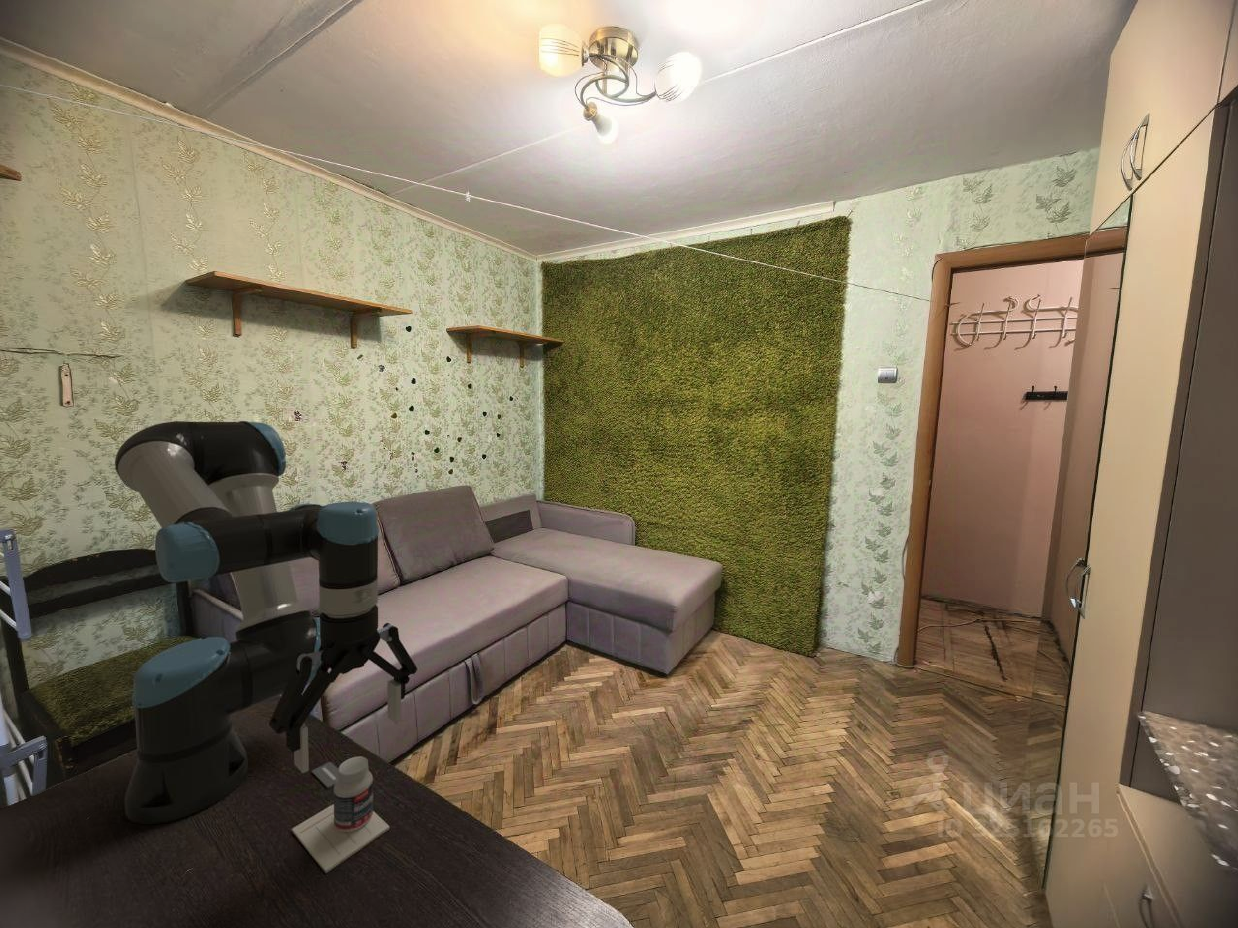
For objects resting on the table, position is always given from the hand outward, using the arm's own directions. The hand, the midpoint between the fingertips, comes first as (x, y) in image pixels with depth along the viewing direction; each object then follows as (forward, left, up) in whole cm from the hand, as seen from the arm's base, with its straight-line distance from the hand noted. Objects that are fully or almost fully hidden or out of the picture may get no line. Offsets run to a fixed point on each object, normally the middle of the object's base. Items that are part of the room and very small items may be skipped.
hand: (351, 742), depth 74 cm
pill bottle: (0, 0, -13) cm, 13 cm away
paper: (0, -2, -13) cm, 13 cm away
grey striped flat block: (-13, +2, -13) cm, 18 cm away
